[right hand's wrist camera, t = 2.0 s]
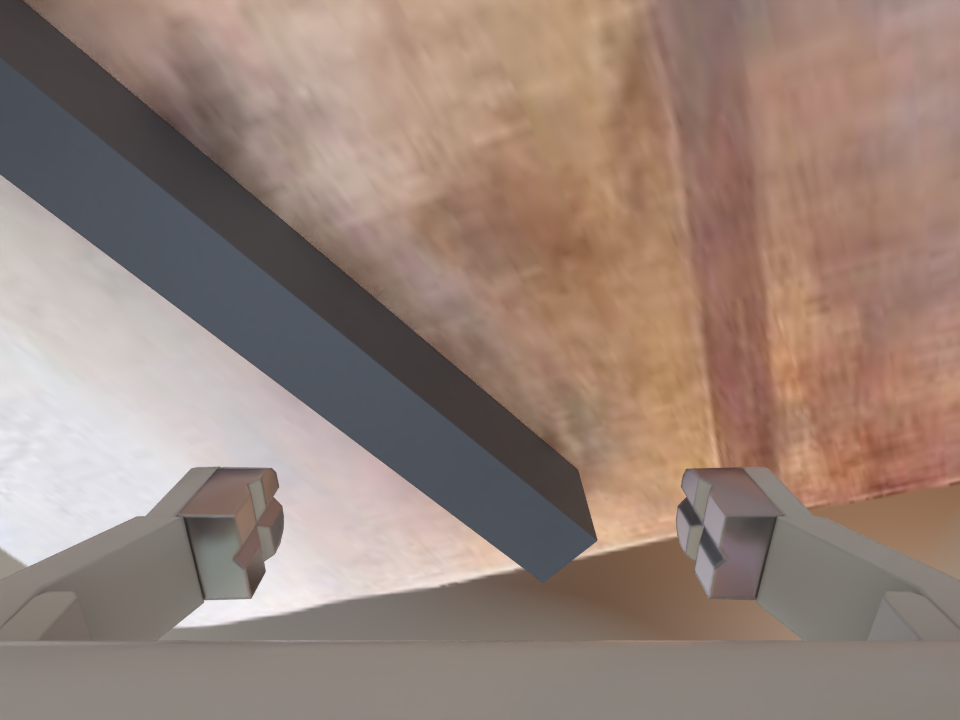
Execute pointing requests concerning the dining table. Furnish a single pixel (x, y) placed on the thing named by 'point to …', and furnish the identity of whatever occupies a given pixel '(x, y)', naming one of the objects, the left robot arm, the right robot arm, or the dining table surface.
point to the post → (273, 296)
